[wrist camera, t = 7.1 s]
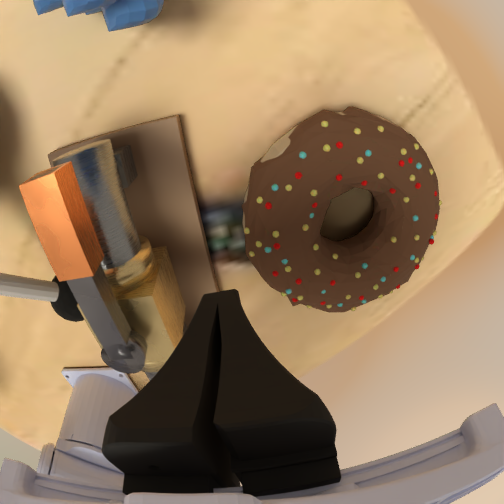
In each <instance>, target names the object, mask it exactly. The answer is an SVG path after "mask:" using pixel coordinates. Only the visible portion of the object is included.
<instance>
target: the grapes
mask: <svg viewBox="0 0 504 504" xmlns="http://www.w3.org/2000/svg"><path fill="white" fill-rule="evenodd" d="M33 2H34V6H35V9H36V11H37V13H38V15H40V14H43V13H47V12H50V11H53V10H55V9H58V8H61V7H63V6H64V8H65V10H66V13H67V16H68V17H69V16H73V15H77V14H81V13H86V15H88V14H93V13H97V12H100V11H102V12H103V16H104V19H105V22H106V25H107V28H108V30H109V32H110V31H115V30H121V29H126V28H130V27H135V26H138V25H142V24H145V23H148V22H150V21H151V20H153V19H154V18H156V17H157V16H158V14H159V13H160V12H161V11H162V7H163V3H164V0H33Z"/></svg>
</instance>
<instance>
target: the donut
mask: <svg viewBox="0 0 504 504" xmlns="http://www.w3.org/2000/svg"><path fill="white" fill-rule="evenodd" d="M354 187H357V188H362V189H366V190H369V191H370V192H371V194H372V195H373V196H374V213H373V217H372V218H371V220H370V221H369V223H368V225H367V226H366V227H365V228H364V229H363V230H362V231H360V232H359V233H358V234H357V235H355V236H353V237H350V238H347V239H345V240H342V241H332V240H329V239H327V238H325V237H323V236H321V234H320V229H321V226H322V223H323V220H324V217H325V214H326V211H327V208H328V207H329V205H330V201H331V199H333V198H335V197H337V196H339V195H341V194H343V193H345V192H347V191H349V190H350V189H352V188H354ZM441 204H442V202H441V201H440V200H439V191H438V180H437V177H436V174H435V171H434V169H433V167H432V165H431V163H430V160H429V158H428V156H427V154H426V152H425V151H424V150H423V148H422V147H421V146H420V144H419V143H418V142H417V140H416V139H415V138H414V137H413V136H412V135H411V134H408V133H407V132H406V131H404V130H403V129H402V128H401V127H399V126H397V125H395V124H394V123H392V122H390V121H388V120H386V119H384V118H383V117H381V116H378V115H373V114H371V113H369V112H367V111H364V110H361V109H358V108H355V107H348V108H347V109H346V110H345V111H343V112H332V111H327V110H322V111H321V112H319V113H317V114H315V115H313V116H312V117H310V118H308V119H306V120H305V121H303V122H301V123H299V124H298V125H296V126H295V127H294V128H293V129H291V130H290V131H289V132H287V133H286V134H285V135H284V136H282V137H281V138H280V139H279V140H277V141H276V142H275V143H274V144H273V145H272V146H271V147H270V149H269V150H268V151H267V153H266V154H265V155H264V157H262V158H261V159H260V160H258V161H257V162H256V163H254V166H253V167H251V174H250V181H249V186H248V188H247V191H246V194H245V197H244V203H243V205H242V209H243V222H242V224H243V228H244V233H245V247H246V255H247V256H248V258H249V259H250V261H251V262H252V264H253V265H254V266H255V268H256V269H257V271H258V272H259V273H260V275H261V276H262V278H263V279H264V280H265V281H266V282H267V283H268V284H269V285H270V286H271V287H272V288H274V289H275V290H277V291H279V292H281V295H282V296H288V298H289V300H290V302H291V304H292V305H293V306H295V305H298V304H303V305H307V307H308V308H311V307H313V308H316V309H320V310H323V311H326V312H345V311H348V310H350V309H351V310H352V311H355V310H356V307H358V306H360V305H363V304H365V303H367V302H370V301H372V300H374V299H377V298H382V297H383V296H384V295H387V294H389V293H392V292H393V290H394V289H396V288H397V289H398V288H400V286H401V285H402V284H404V283H406V282H407V281H408V280H409V278H410V276H411V274H412V272H413V271H414V270H415V269H418V268H419V264H420V262H421V260H423V259H424V257H423V256H424V254H425V252H426V249H427V247H428V245H429V244H433V243H434V240H433V239H434V237H433V236H434V235H436V231H435V230H436V226H437V221H438V215H439V209H440V205H441Z"/></svg>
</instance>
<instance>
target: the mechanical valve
mask: <svg viewBox="0 0 504 504" xmlns="http://www.w3.org/2000/svg"><path fill="white" fill-rule="evenodd" d="M0 295H3V296H10V297H18V298H26V299H34V300H43V301H50V302H51V305H52V307H53V309H54V310H55V312H56V313H57V314H58V315H59V316H61V317H62V318H64V319H66V320H70V321H75V322H77V321H82V320H85V319H84V318H83V316H82V314H81V312H80V310H79V309H78V307H77V304H78V303H77V301H76V299H75V297H74V295H73V293H72V291H71V289H70V287H69V285H68V283H67V281H61V282H59V280H58V278H57V276H55V277H54V279H53V280H52V282H51V281H45V280H39V279H33V278H27V277H21V276H15V275H9V274H3V273H0Z"/></svg>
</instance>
